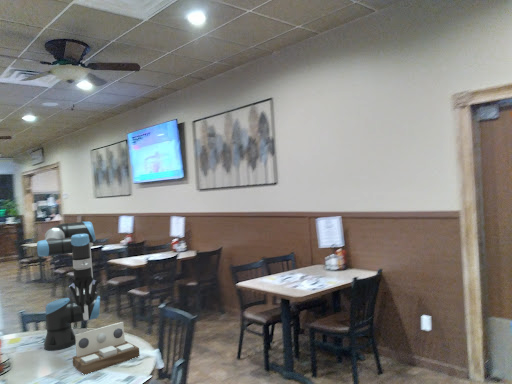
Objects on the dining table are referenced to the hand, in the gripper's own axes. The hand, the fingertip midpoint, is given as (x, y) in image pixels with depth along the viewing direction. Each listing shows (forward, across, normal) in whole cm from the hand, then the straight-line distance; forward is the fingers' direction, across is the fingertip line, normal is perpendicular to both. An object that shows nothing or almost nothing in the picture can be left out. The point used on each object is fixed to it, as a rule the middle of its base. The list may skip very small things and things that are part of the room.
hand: (85, 319), depth 187 cm
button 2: (+18, +14, -8) cm, 24 cm away
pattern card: (+16, +6, -1) cm, 17 cm away
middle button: (+16, +6, -8) cm, 19 cm away
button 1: (+17, -2, -8) cm, 19 cm away
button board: (+20, +6, -6) cm, 21 cm away
